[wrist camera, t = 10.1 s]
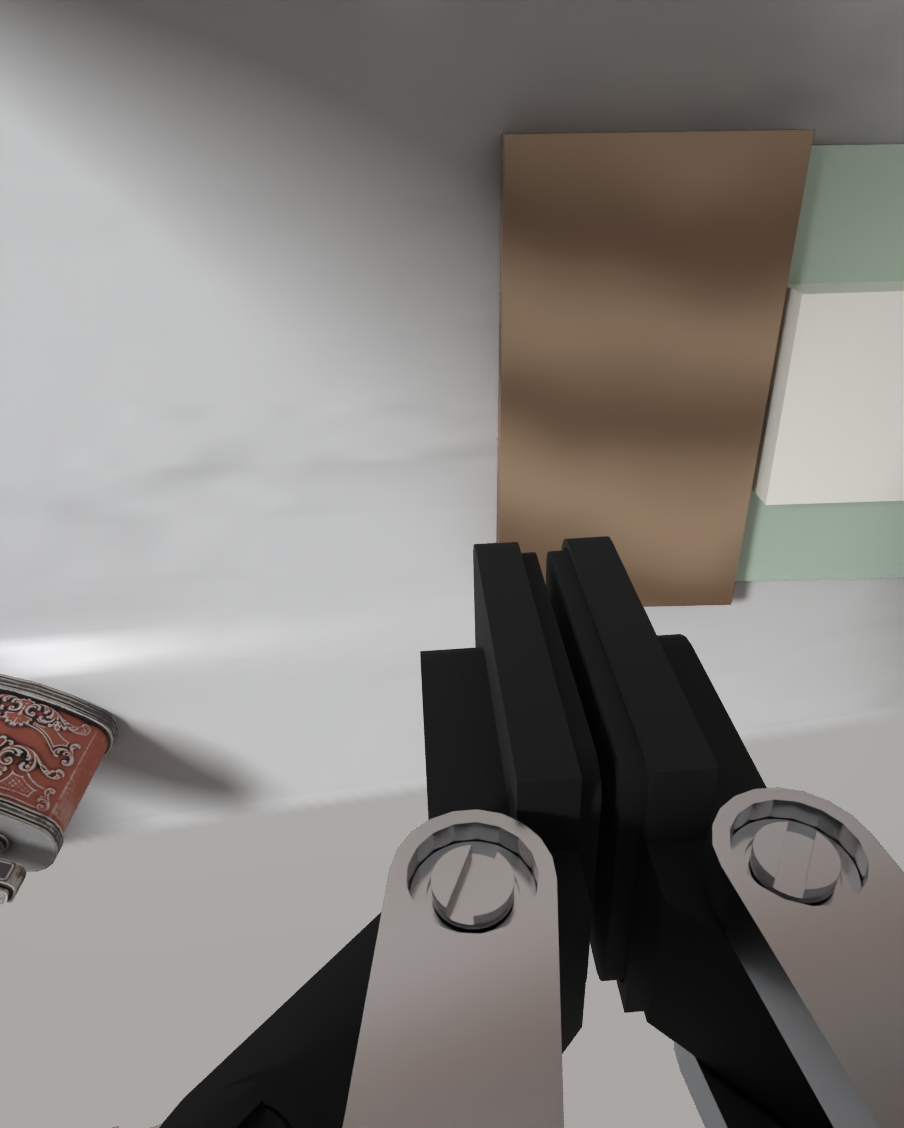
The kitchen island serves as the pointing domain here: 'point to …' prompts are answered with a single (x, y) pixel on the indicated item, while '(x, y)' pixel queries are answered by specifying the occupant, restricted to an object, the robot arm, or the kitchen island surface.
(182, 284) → the kitchen island surface
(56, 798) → the lighter
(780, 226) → the riser
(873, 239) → the mat
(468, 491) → the kitchen island surface
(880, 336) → the tile
